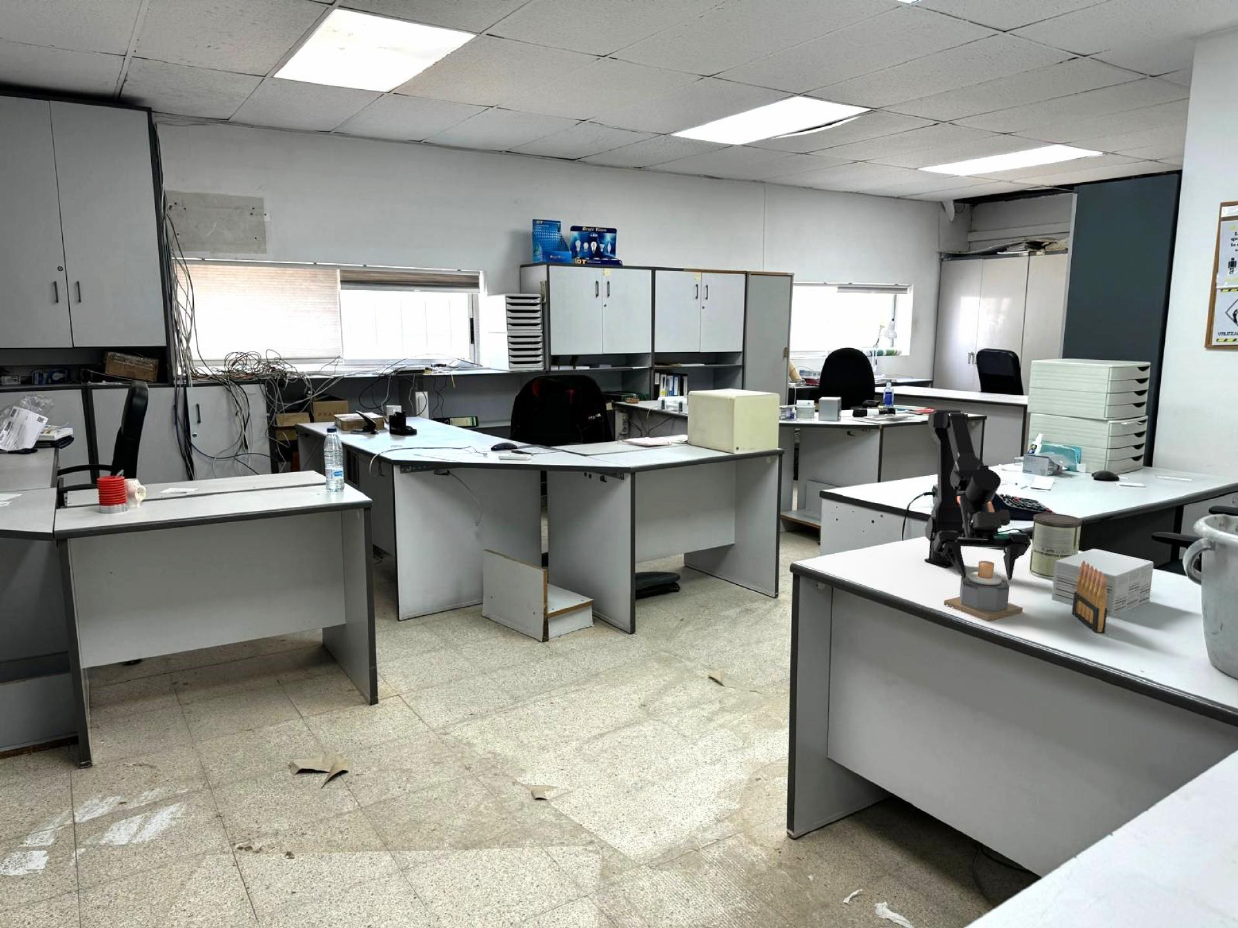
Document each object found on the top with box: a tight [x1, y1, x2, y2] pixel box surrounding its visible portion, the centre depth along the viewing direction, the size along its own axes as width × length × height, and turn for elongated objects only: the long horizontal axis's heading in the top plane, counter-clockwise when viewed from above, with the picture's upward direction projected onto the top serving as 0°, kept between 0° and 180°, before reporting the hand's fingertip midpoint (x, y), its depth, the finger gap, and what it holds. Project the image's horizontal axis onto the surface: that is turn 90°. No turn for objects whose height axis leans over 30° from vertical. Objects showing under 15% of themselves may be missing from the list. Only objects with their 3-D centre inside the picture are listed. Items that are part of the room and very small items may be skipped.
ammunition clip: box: [1071, 561, 1107, 634], centre depth 166 cm, size 11×2×12 cm, turn 174°
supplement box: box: [1051, 548, 1155, 617], centre depth 180 cm, size 17×13×9 cm
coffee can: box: [1028, 512, 1083, 581], centre depth 198 cm, size 10×10×14 cm
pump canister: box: [943, 574, 1024, 622], centre depth 175 cm, size 11×11×6 cm
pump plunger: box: [968, 560, 1003, 585], centre depth 175 cm, size 6×6×9 cm
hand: (987, 578), depth 173 cm, fingers open, 9 cm apart
